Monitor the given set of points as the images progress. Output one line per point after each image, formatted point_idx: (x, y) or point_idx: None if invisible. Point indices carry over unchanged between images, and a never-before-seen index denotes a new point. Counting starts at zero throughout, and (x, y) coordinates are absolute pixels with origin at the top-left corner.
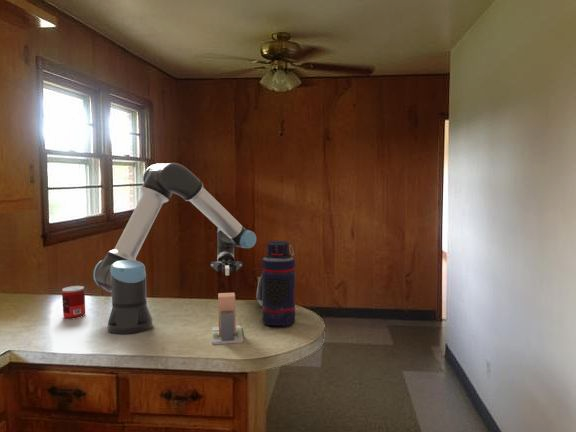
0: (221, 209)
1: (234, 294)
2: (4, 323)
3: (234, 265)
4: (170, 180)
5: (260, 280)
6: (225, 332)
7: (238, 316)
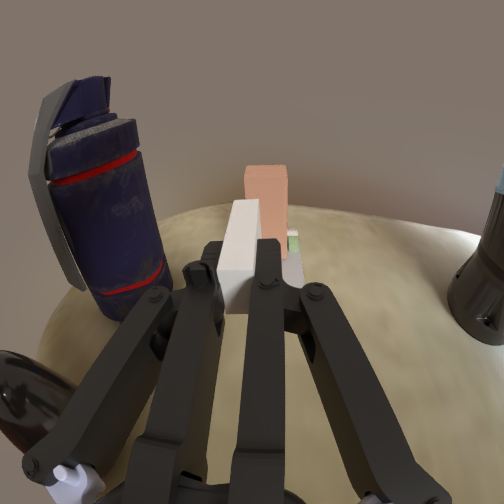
0: None
1: (246, 170)
2: None
3: (162, 286)
4: None
5: (48, 396)
6: None
7: (221, 373)
